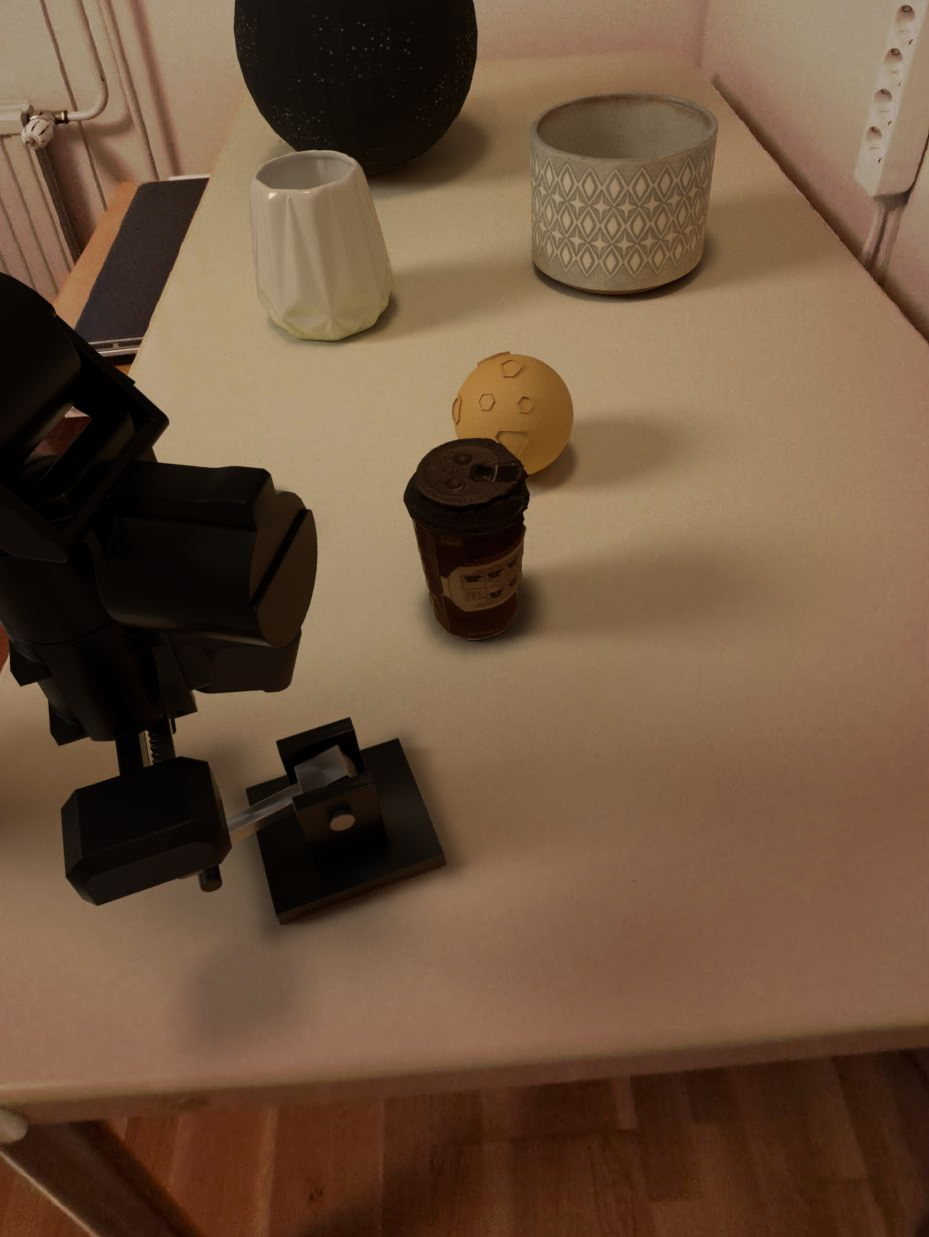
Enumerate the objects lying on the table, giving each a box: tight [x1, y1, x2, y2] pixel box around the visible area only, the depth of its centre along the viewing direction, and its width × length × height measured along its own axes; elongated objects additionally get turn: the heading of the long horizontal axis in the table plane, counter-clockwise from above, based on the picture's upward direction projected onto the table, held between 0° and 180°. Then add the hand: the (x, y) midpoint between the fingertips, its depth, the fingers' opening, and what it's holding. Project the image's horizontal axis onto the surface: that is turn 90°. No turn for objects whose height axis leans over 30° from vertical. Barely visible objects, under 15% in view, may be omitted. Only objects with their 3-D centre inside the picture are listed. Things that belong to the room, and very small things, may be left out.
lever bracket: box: [244, 716, 447, 926], centre depth 54 cm, size 10×9×7 cm
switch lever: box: [197, 745, 358, 893], centre depth 53 cm, size 10×6×2 cm, turn 110°
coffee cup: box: [402, 438, 531, 641], centre depth 64 cm, size 9×8×13 cm
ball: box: [233, 0, 479, 175], centre depth 117 cm, size 30×30×30 cm
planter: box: [529, 91, 719, 296], centre depth 99 cm, size 19×19×14 cm
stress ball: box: [451, 350, 574, 476], centre depth 77 cm, size 10×10×10 cm
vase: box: [248, 150, 394, 342], centre depth 94 cm, size 14×14×15 cm
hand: (178, 799), depth 50 cm, fingers open, 9 cm apart
